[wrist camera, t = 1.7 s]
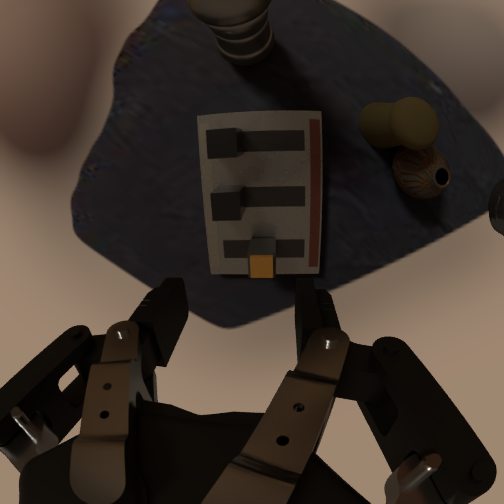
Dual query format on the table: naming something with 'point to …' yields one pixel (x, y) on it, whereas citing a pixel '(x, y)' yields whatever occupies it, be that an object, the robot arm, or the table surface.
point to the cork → (399, 124)
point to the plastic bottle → (237, 28)
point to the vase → (421, 172)
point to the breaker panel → (262, 187)
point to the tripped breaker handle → (262, 258)
